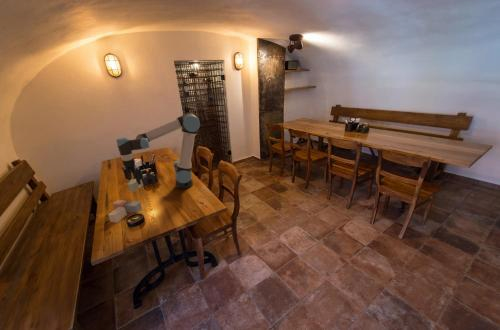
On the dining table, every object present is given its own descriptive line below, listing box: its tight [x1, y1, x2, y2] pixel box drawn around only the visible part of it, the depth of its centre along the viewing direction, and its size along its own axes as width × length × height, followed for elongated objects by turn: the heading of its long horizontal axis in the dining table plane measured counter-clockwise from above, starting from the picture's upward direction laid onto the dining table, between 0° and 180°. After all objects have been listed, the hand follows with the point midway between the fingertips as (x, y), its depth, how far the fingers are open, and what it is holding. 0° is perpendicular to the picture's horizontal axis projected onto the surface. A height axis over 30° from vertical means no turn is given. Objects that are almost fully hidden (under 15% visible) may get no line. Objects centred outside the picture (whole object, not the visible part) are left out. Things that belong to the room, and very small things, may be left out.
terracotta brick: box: [111, 199, 129, 211], centre depth 151 cm, size 9×5×6 cm, turn 77°
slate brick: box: [125, 200, 143, 214], centre depth 149 cm, size 9×5×6 cm, turn 79°
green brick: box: [126, 178, 144, 192], centre depth 155 cm, size 5×9×6 cm, turn 167°
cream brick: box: [107, 207, 128, 224], centre depth 141 cm, size 5×9×6 cm, turn 167°
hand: (136, 187), depth 156 cm, fingers closed on green brick, 5 cm apart
